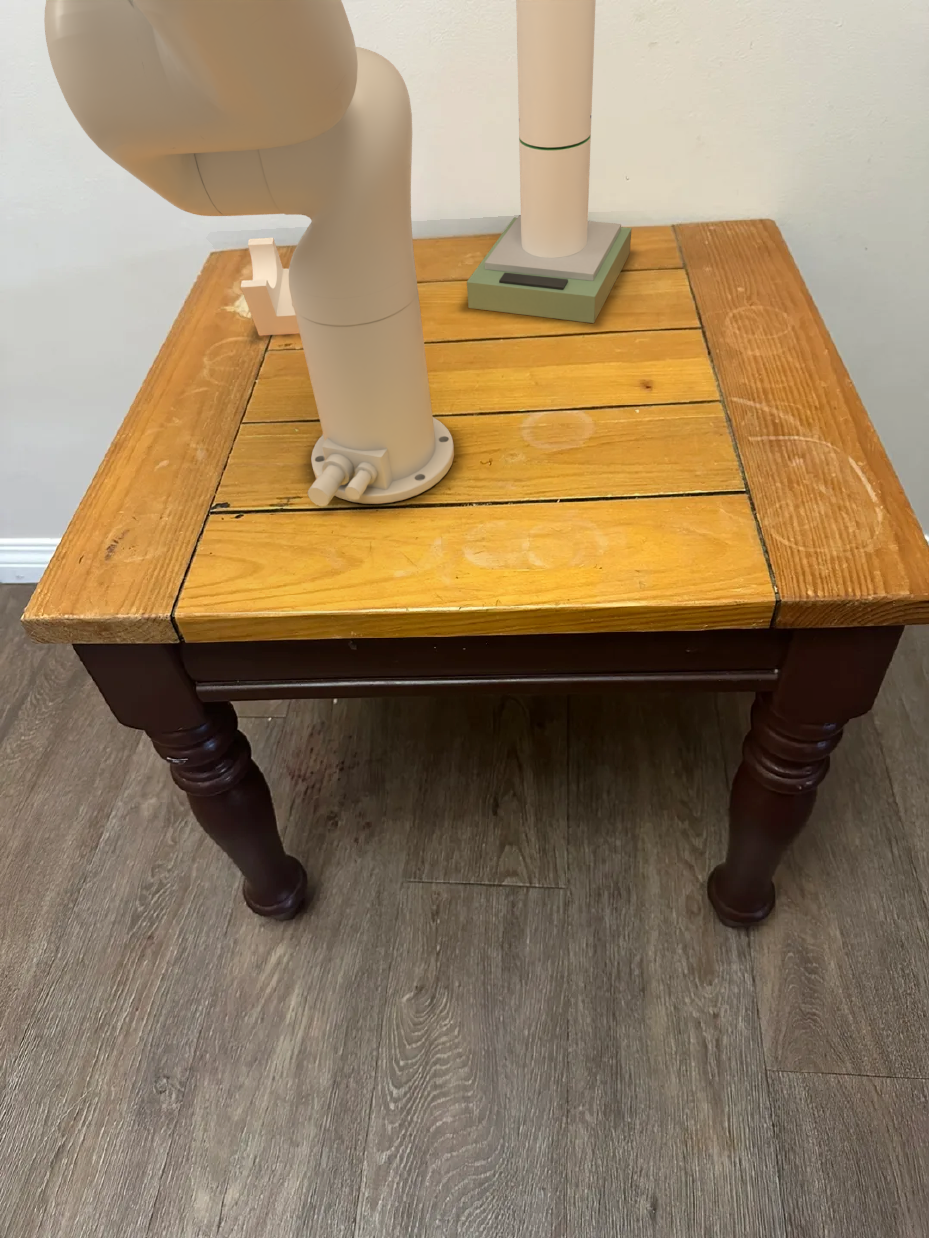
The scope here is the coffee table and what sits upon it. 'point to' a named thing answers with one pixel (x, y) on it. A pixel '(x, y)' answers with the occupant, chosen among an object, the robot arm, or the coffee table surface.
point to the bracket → (269, 290)
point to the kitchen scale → (550, 275)
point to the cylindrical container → (554, 123)
